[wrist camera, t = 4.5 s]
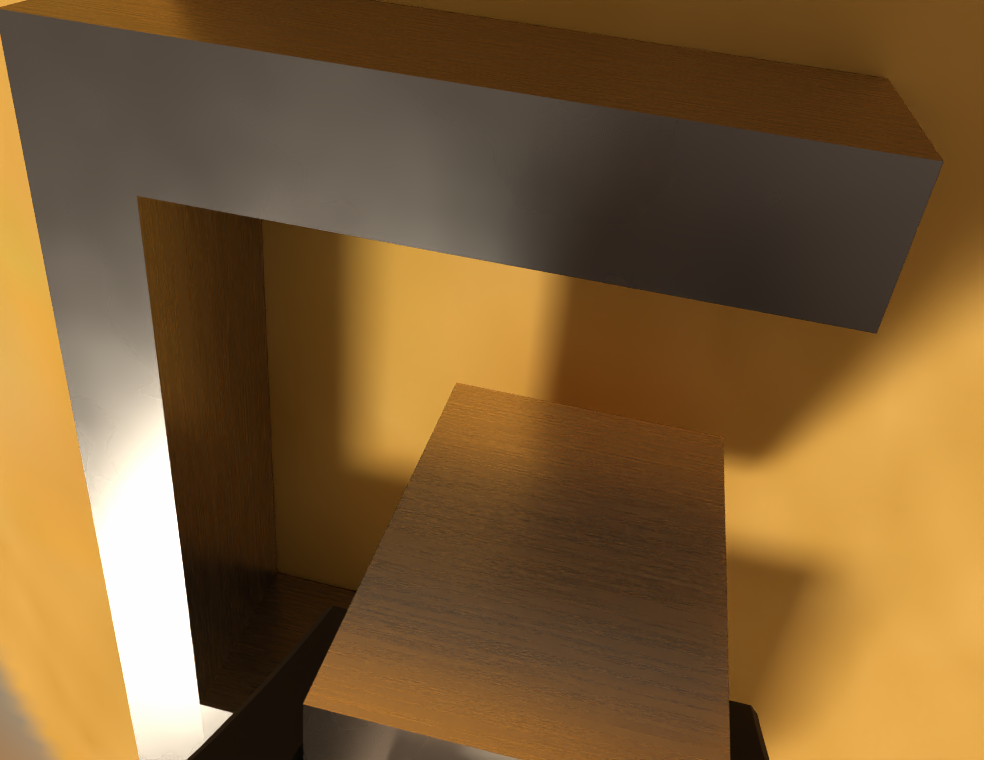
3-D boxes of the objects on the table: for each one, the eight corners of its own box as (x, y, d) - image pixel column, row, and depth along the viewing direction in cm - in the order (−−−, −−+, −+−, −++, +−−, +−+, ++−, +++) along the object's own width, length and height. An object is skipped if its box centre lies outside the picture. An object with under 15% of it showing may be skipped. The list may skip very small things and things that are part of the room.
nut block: (665, 629, 15) (639, 1085, 9) (436, 576, 16) (284, 980, 10) (723, 437, 13) (732, 879, 7) (456, 382, 13) (277, 758, 8)
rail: (606, 916, 24) (590, 1067, 21) (237, 815, 25) (174, 944, 22) (888, 78, 12) (943, 162, 9) (154, -33, 13) (-5, 8, 10)
